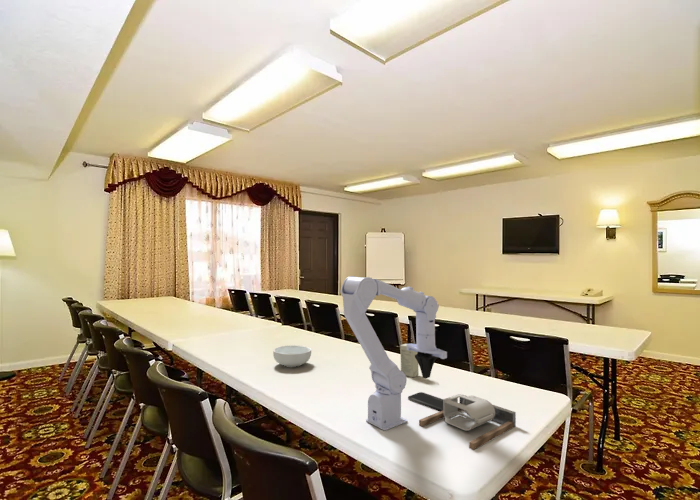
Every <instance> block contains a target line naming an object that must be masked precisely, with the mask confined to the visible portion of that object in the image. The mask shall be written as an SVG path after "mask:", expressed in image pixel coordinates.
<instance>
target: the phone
mask: <svg viewBox="0 0 700 500" xmlns="http://www.w3.org/2000/svg"><path fill="white" fill-rule="evenodd" d="M407 399H408V401H410V402H412V403H415V404H419V405H421V406H423V407H426V408H430V409H432V410H435V411H438V412H440V411H443V400H444V399H445V398H440V397H439V396H438V397H437V396H434V395H432V394H428V393H426V392H422V391H420V392H419V391H418V392H417V393H414V394H411V395H408V397H407Z"/></svg>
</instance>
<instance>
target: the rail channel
mask: <svg viewBox="0 0 700 500" xmlns="http://www.w3.org/2000/svg"><path fill="white" fill-rule="evenodd" d="M463 395H464V394H463ZM464 396H467V397H468V396H469V395H464ZM463 400H464V398H461V397H459V403H460V404H463ZM492 405H493V407H494V409H495V417H494V419H493V420H491V421H493V422H495V423H499V424H501V425H498V426H497V427H495V428H493V429H491V430H489V431H487V432H486V433H484V434H481V435H480V436H478V437H475V439H472V440H470V441H469V442H468V445H469V449H471V451H472V450H473V451H474V450H476V449H478V448H480V447H482V446H484V445H485V444H487V443H489V442H491V441H492V440H495V439H496V438H498V437H500V436H501V435H503V434H505V433H507V432H509V431H511V430H512V429H513V428H515V427H516V426H517V425H516V422H517V421H516V415H517V414H516V411H514V410H510V409H507V408H504V407H500V406H498V405H495V404H492ZM458 411H459V412H462V411H464V410H463V409H461V408H458ZM444 418H445V417H444V415H443V411H438V412H435V413H433V414H430V415H428V416H425V417H422V418H420V419H419V420H418V425H419V427H420V426H421V427H423V428H424V427H425V426H427V425H430V424H432V423H434V422H437V421H440V420H441V419H444Z"/></svg>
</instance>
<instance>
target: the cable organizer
mask: <svg viewBox="0 0 700 500" xmlns="http://www.w3.org/2000/svg"><path fill="white" fill-rule="evenodd" d="M467 396H468V397H467ZM460 397H461V398H464V400H463V404H460V402H459V401H458V399H459V398H460ZM443 399H444V400H443V415H444V418H445V419H444V423H446V424H449V425H451V426H453V427H456V428H458V429H460V430H463V431H466V432H468V431H471V430H473V429H475V428H477V427H479V426H482V425H484V424H486V423H488V422H490V421H492V420H493V419H494V417H495V409H494V407H493V405H494V404H492V402H490V400H488V399H485V398H481V397H479V396H476V395H465V396H464V394H462V393H461V394H460V393H457V394H455V395H452V396H449V397H446V398H443ZM458 402H459V403H458ZM458 408H461V409H463V410H462V411H464V412H465V413H462V412H461V411H458Z"/></svg>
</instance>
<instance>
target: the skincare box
mask: <svg viewBox="0 0 700 500" xmlns="http://www.w3.org/2000/svg"><path fill="white" fill-rule="evenodd" d="M407 344H408V343H404V344H400V347H399V350H400V371H402V372H404V374H405V375H406V377H410V378H415V377H417V376H419V374H420V373H419V364H418V362H417V360H416V358H415V355H416V354H417V353H418V352H415V351H411V350H410V351H409V350H407Z"/></svg>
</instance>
